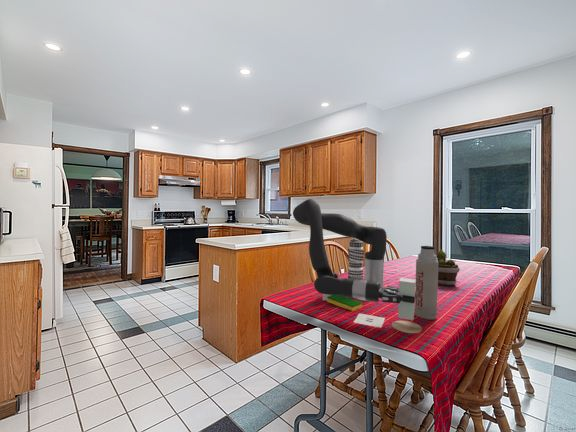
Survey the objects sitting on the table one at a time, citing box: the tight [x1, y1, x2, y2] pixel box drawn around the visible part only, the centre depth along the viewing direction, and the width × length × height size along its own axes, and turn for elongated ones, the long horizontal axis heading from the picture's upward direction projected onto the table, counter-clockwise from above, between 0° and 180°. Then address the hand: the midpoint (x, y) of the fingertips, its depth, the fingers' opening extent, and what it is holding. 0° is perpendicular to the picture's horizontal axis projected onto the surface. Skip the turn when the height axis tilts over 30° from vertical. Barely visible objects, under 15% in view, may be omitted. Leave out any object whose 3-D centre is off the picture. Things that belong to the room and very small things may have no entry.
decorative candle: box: [347, 237, 365, 280], centre depth 164 cm, size 9×9×25 cm
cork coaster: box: [391, 320, 423, 334], centre depth 102 cm, size 10×10×1 cm
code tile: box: [353, 312, 386, 328], centre depth 108 cm, size 10×10×1 cm
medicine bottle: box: [322, 272, 339, 302], centre depth 133 cm, size 7×7×12 cm
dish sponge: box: [326, 295, 363, 312], centre depth 125 cm, size 7×14×2 cm, turn 43°
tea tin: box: [397, 277, 416, 321], centre depth 102 cm, size 5×5×13 cm
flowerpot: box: [435, 249, 460, 287], centre depth 161 cm, size 14×15×20 cm
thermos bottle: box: [414, 245, 439, 320], centre depth 113 cm, size 8×8×28 cm
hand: (414, 297), depth 101 cm, fingers closed on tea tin, 5 cm apart
